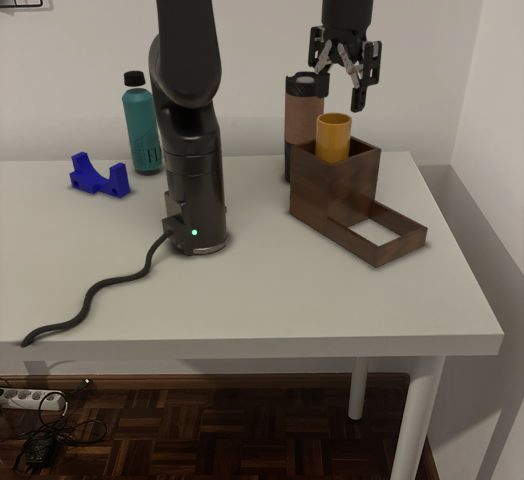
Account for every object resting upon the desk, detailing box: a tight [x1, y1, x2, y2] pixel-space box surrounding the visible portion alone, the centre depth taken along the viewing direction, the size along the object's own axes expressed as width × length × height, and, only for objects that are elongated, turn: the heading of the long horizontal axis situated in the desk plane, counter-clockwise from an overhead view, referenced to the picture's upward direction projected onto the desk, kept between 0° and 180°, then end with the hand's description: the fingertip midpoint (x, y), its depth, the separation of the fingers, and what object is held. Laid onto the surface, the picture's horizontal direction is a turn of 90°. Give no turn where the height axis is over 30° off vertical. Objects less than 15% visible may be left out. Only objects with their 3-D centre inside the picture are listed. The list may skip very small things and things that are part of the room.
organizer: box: [289, 135, 429, 269], centre depth 98 cm, size 12×23×13 cm, turn 36°
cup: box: [315, 112, 353, 163], centre depth 97 cm, size 6×6×9 cm
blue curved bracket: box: [68, 151, 131, 199], centre depth 113 cm, size 12×4×6 cm, turn 58°
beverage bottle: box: [121, 70, 164, 172], centre depth 115 cm, size 6×7×20 cm
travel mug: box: [283, 70, 325, 185], centre depth 111 cm, size 8×8×20 cm
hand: (339, 104), depth 92 cm, fingers open, 8 cm apart
